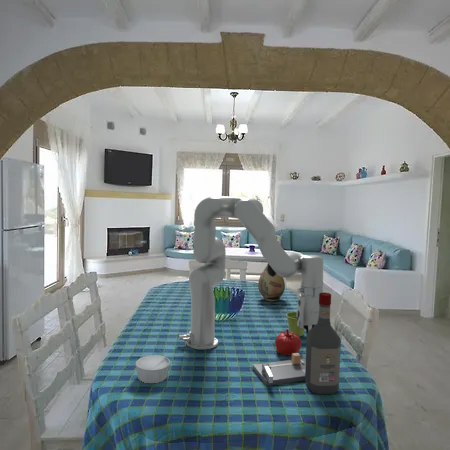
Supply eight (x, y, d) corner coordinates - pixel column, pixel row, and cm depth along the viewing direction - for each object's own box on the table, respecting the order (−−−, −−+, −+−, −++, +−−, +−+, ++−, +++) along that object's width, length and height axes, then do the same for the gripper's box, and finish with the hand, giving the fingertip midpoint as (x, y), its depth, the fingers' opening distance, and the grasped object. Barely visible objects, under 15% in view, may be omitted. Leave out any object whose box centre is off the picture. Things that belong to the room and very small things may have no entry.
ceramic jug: (258, 295, 226) (259, 246, 224) (284, 296, 224) (285, 247, 222) (256, 303, 210) (258, 250, 207) (284, 304, 207) (286, 251, 205)
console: (266, 385, 119) (266, 379, 119) (252, 368, 130) (252, 362, 130) (322, 377, 124) (322, 371, 124) (304, 362, 136) (304, 356, 136)
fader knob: (294, 364, 130) (294, 355, 130) (291, 361, 132) (291, 353, 132) (300, 363, 131) (300, 354, 131) (297, 361, 133) (298, 352, 133)
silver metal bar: (261, 369, 125) (261, 363, 125) (268, 369, 126) (268, 362, 126) (267, 383, 116) (267, 376, 116) (274, 382, 117) (274, 376, 116)
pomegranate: (298, 360, 138) (299, 336, 137) (272, 355, 142) (272, 331, 141) (302, 349, 147) (303, 326, 146) (277, 345, 151) (278, 322, 150)
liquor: (341, 394, 114) (345, 297, 112) (311, 395, 114) (315, 298, 111) (330, 379, 123) (334, 290, 121) (303, 380, 123) (306, 290, 120)
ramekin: (172, 383, 119) (172, 367, 119) (136, 388, 116) (136, 371, 116) (167, 368, 130) (167, 353, 129) (134, 371, 127) (134, 356, 126)
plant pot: (307, 339, 158) (308, 319, 157) (285, 337, 159) (285, 317, 159) (307, 331, 167) (308, 312, 166) (286, 329, 169) (286, 311, 168)
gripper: (297, 295, 125) (297, 348, 126) (336, 291, 129) (335, 343, 131) (287, 289, 132) (287, 340, 134) (324, 286, 137) (324, 336, 138)
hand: (311, 341), depth 132 cm, fingers closed
